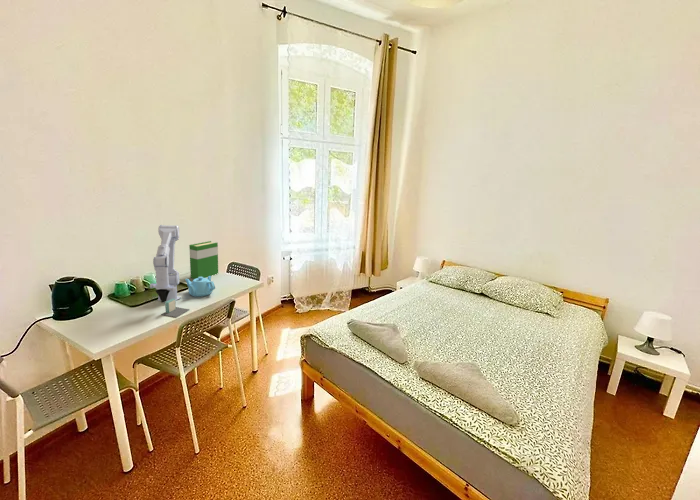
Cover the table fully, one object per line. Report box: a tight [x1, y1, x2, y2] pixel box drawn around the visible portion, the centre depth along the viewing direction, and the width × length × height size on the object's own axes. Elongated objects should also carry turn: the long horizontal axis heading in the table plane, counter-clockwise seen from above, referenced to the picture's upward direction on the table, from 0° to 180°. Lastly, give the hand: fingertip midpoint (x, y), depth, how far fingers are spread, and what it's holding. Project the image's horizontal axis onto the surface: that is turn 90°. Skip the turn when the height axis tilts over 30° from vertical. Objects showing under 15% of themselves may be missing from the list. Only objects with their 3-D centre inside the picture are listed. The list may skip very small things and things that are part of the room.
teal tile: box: [164, 299, 177, 313], centre depth 169 cm, size 2×5×6 cm, turn 168°
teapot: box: [184, 276, 216, 298], centre depth 195 cm, size 15×15×11 cm
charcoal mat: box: [160, 306, 190, 318], centre depth 169 cm, size 9×10×1 cm
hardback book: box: [188, 240, 219, 280], centre depth 225 cm, size 18×7×24 cm, turn 155°
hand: (163, 301), depth 169 cm, fingers closed
